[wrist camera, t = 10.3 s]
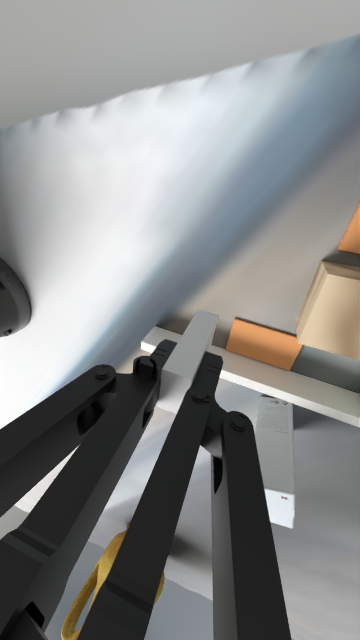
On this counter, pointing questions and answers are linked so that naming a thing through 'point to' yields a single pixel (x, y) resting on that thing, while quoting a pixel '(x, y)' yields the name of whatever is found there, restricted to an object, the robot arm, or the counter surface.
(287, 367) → the trap pits
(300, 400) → the track
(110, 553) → the pitcher
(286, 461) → the skincare box
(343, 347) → the oak block
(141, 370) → the robot arm
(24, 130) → the counter surface
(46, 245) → the counter surface
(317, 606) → the counter surface
